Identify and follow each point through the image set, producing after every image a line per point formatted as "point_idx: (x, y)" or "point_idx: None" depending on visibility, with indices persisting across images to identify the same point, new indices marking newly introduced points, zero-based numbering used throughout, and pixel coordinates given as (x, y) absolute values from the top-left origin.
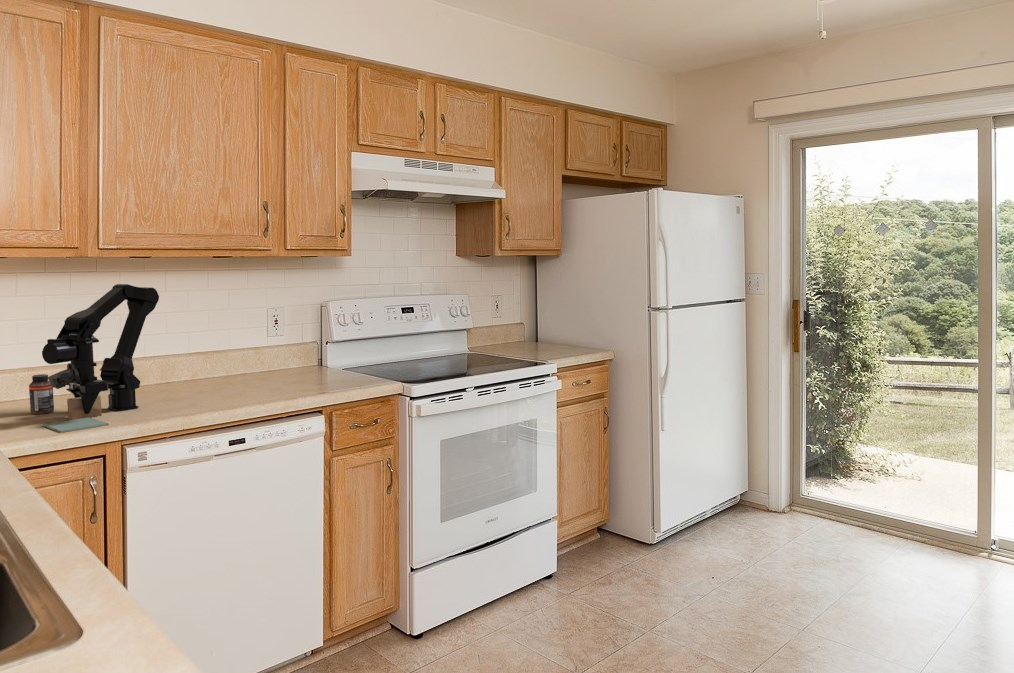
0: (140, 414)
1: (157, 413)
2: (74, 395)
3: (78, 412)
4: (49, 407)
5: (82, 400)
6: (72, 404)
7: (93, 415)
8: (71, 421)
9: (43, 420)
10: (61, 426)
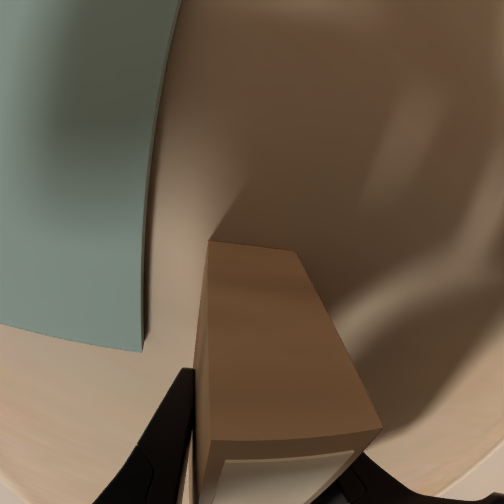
0: (87, 464)
1: (69, 476)
2: (389, 493)
3: (199, 341)
4: None
5: (153, 479)
6: (205, 380)
7: None
8: (75, 177)
9: (444, 124)
10: None
